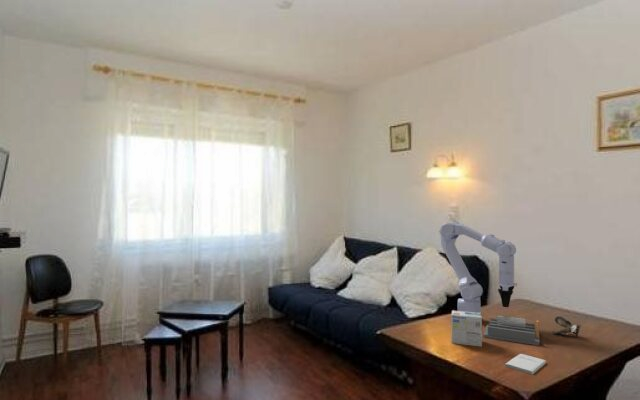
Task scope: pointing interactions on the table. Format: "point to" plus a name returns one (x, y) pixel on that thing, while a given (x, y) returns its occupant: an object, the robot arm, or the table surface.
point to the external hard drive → (526, 363)
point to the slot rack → (513, 332)
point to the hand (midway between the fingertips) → (506, 304)
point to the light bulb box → (466, 328)
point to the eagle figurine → (566, 326)
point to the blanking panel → (511, 321)
